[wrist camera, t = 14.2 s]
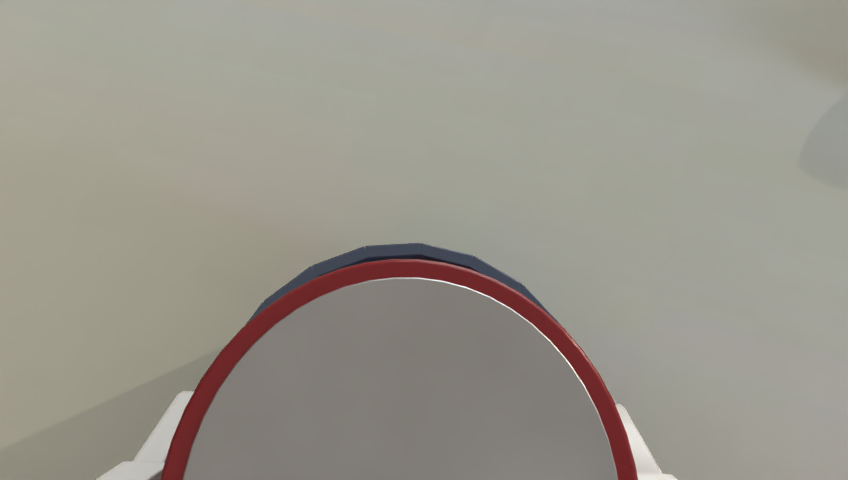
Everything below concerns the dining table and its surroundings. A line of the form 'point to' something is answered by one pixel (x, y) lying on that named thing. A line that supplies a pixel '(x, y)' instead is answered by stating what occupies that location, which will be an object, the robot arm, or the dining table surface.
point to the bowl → (398, 252)
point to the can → (401, 387)
